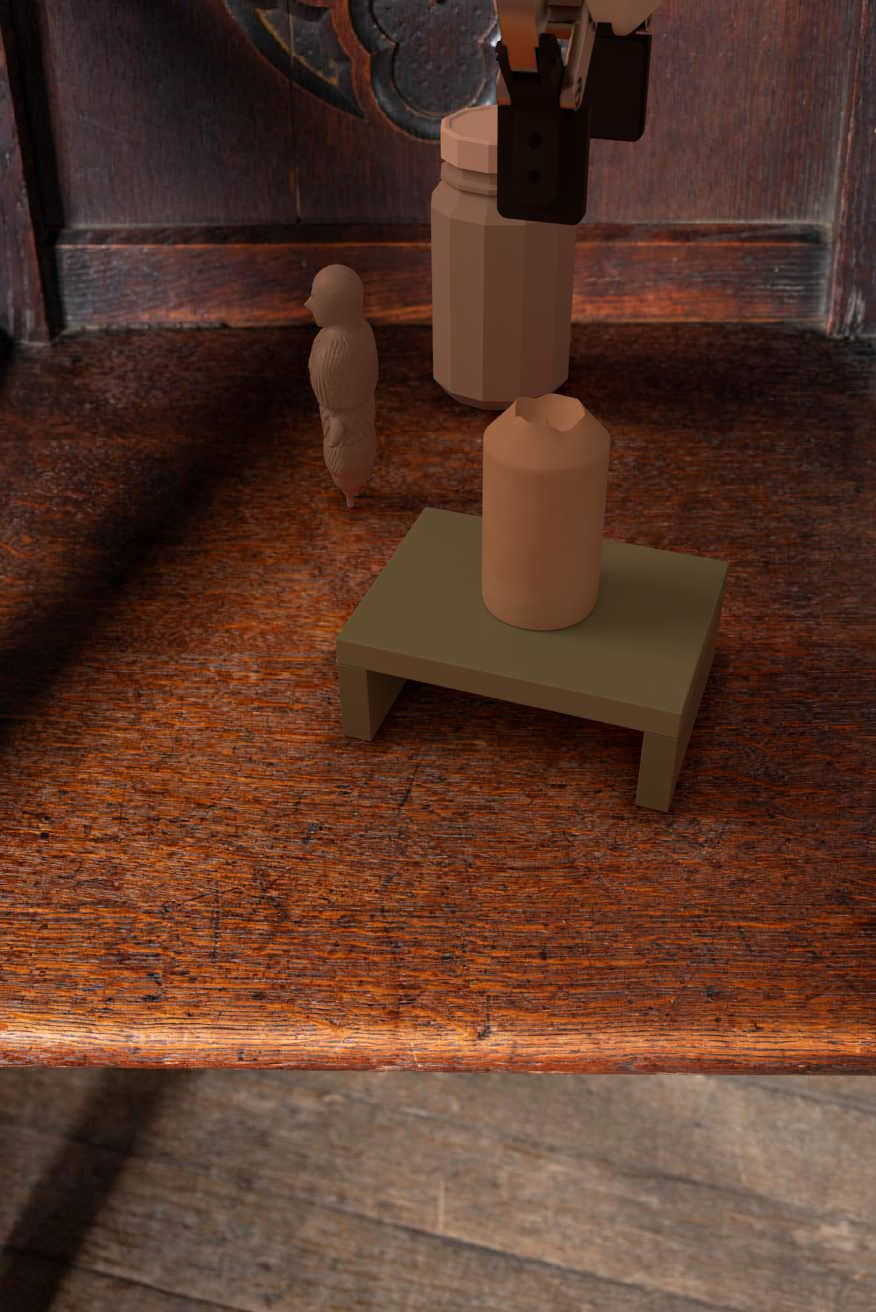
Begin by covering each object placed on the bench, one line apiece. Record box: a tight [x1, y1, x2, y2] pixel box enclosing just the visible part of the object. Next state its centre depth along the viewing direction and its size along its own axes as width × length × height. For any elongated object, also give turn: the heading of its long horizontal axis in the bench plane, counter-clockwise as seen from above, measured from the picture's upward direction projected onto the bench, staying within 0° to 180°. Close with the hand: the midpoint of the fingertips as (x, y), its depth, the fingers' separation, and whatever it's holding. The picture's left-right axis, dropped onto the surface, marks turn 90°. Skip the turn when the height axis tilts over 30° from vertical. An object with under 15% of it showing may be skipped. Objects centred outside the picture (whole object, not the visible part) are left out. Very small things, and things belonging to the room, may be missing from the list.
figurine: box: [303, 263, 379, 509], centre depth 73 cm, size 9×4×15 cm, turn 168°
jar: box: [430, 104, 578, 411], centre depth 84 cm, size 10×10×18 cm
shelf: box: [335, 506, 730, 813], centre depth 62 cm, size 16×12×6 cm
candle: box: [481, 393, 612, 630], centre depth 57 cm, size 6×6×10 cm
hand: (575, 175), depth 49 cm, fingers open, 9 cm apart
